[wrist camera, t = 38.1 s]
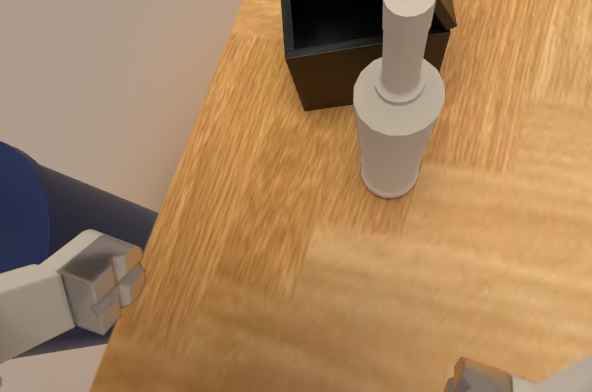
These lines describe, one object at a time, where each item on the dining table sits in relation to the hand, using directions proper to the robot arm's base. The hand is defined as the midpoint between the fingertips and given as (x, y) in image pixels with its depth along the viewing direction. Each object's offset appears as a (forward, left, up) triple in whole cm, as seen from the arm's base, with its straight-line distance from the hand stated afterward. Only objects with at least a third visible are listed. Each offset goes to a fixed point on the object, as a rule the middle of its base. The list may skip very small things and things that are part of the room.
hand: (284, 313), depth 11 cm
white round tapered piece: (+5, +12, -29) cm, 32 cm away
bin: (+4, +24, -29) cm, 38 cm away
